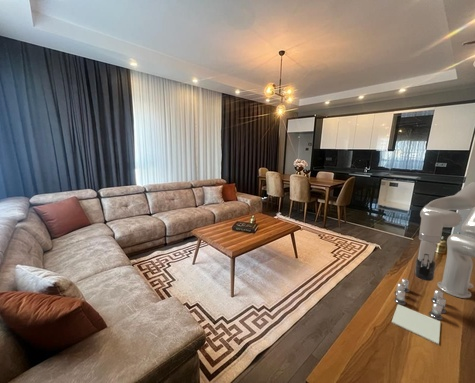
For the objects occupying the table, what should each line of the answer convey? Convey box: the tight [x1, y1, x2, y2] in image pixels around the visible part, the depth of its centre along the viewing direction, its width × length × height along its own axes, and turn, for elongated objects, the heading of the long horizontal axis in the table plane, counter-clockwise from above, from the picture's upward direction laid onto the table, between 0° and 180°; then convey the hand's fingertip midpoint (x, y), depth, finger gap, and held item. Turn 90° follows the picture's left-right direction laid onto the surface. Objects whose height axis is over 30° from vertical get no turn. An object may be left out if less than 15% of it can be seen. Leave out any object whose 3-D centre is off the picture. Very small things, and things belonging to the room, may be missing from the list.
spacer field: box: [394, 277, 447, 321], centre depth 102 cm, size 17×19×6 cm
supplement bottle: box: [414, 255, 436, 282], centre depth 99 cm, size 7×7×12 cm
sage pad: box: [391, 303, 441, 346], centre depth 90 cm, size 15×15×1 cm
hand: (424, 271), depth 99 cm, fingers closed on supplement bottle, 6 cm apart
